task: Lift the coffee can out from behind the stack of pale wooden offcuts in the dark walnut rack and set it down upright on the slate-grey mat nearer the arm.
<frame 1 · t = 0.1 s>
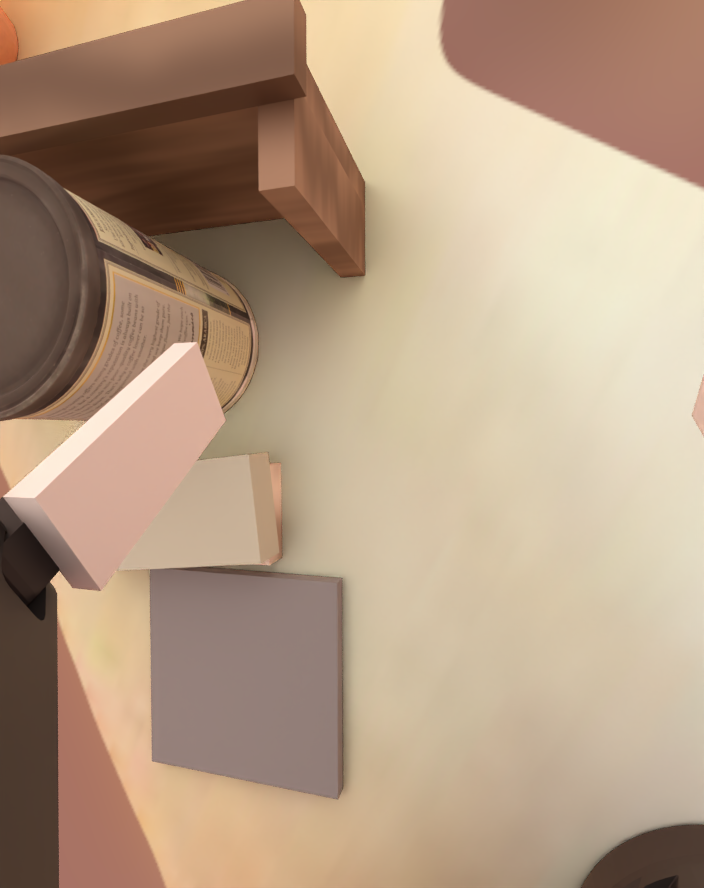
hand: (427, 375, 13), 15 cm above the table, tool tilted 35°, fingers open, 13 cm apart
slate mat: (246, 670, 32), on the table
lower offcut: (196, 505, 33), on the table, touching upper offcut
upper offcut: (179, 510, 31), point 2 cm above the table, touching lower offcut
coffee can: (191, 349, 33), on the table
walnut rack: (189, 386, 33), on the table
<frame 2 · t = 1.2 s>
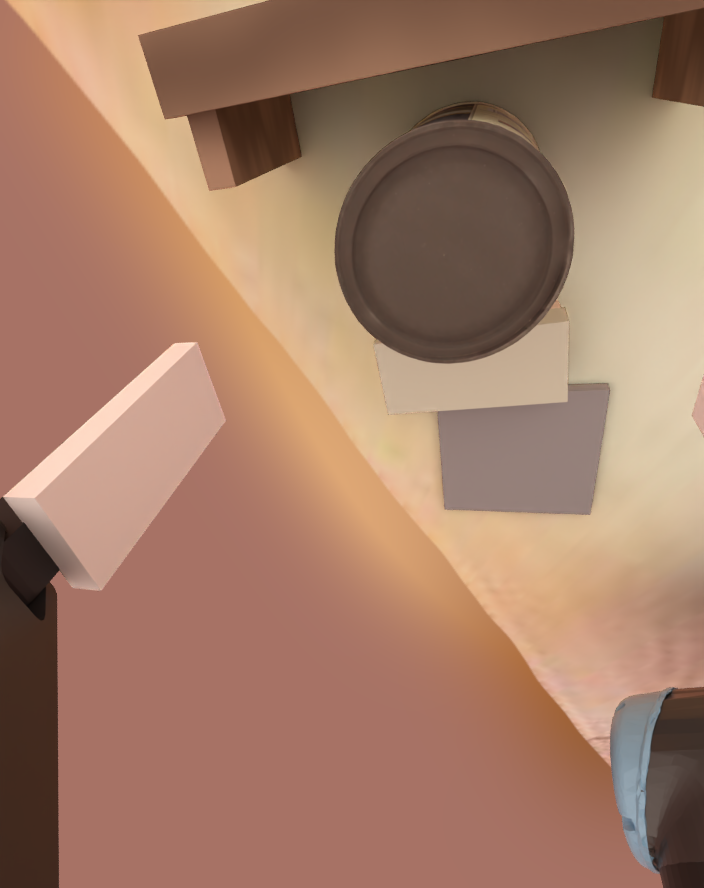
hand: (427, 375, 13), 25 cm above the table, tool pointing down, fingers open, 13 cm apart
slate mat: (516, 450, 43), on the table
upper offcut: (470, 357, 37), point 2 cm above the table, touching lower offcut
coffee can: (462, 195, 33), on the table
walnut rack: (463, 235, 34), on the table
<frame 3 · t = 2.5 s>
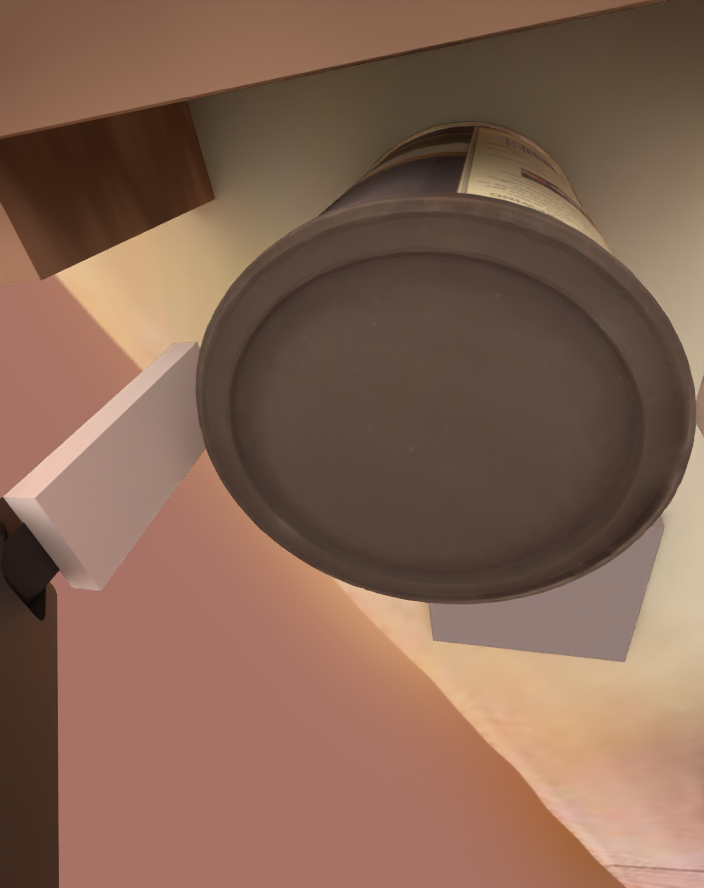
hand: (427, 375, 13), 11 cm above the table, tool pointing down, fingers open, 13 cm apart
slate mat: (527, 580, 32), on the table
coffee can: (455, 260, 22), on the table
walnut rack: (456, 316, 23), on the table
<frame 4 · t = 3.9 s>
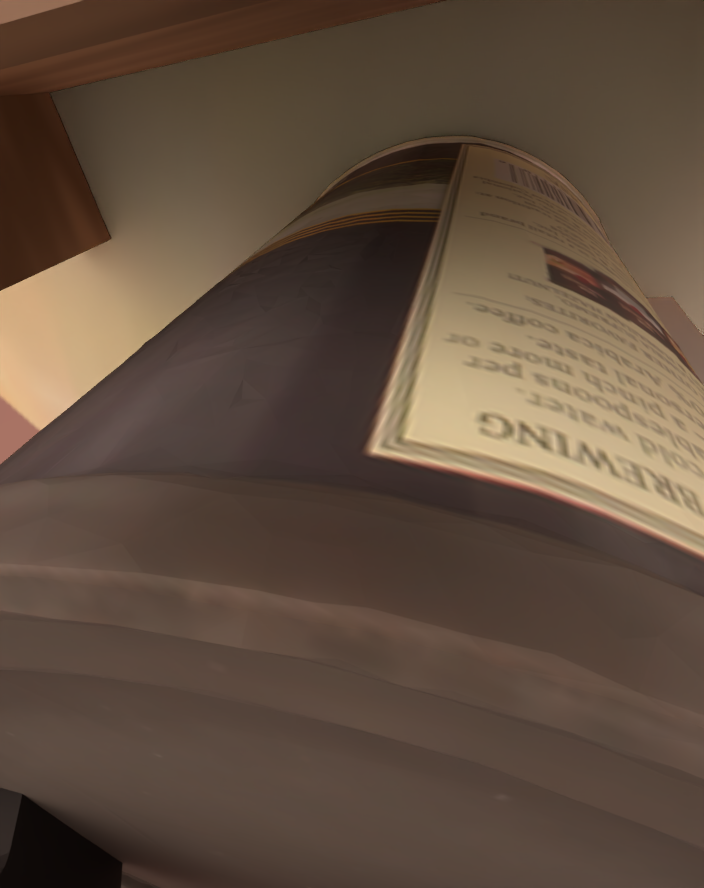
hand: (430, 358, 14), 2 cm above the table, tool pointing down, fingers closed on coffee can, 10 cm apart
coffee can: (438, 322, 16), on the table, touching gripper
walnut rack: (441, 394, 17), on the table
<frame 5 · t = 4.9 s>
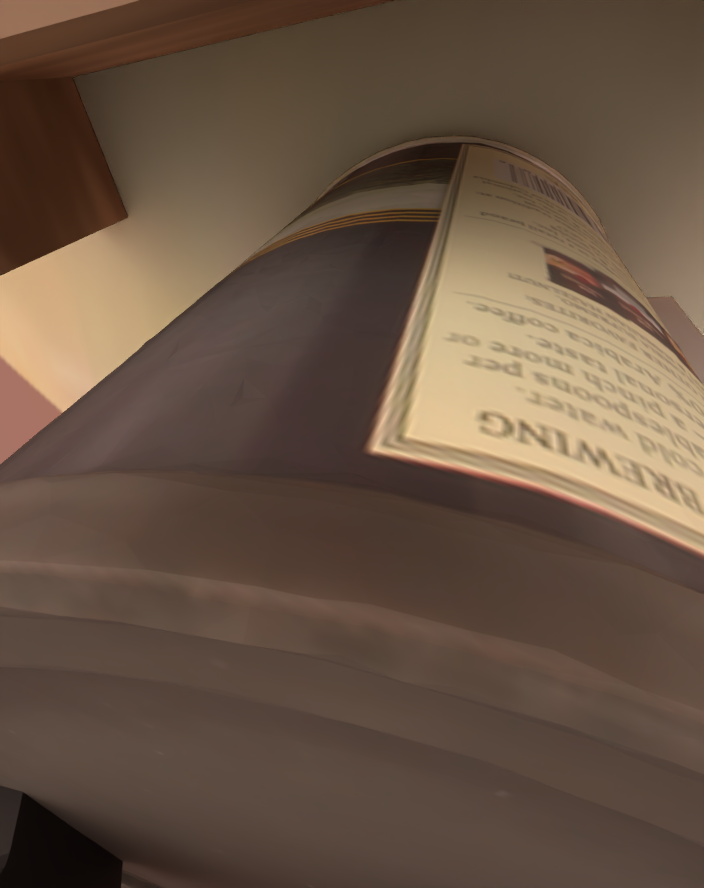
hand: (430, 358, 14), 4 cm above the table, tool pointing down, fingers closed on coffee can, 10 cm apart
coffee can: (438, 322, 16), point 1 cm above the table, touching gripper
walnut rack: (439, 363, 18), on the table
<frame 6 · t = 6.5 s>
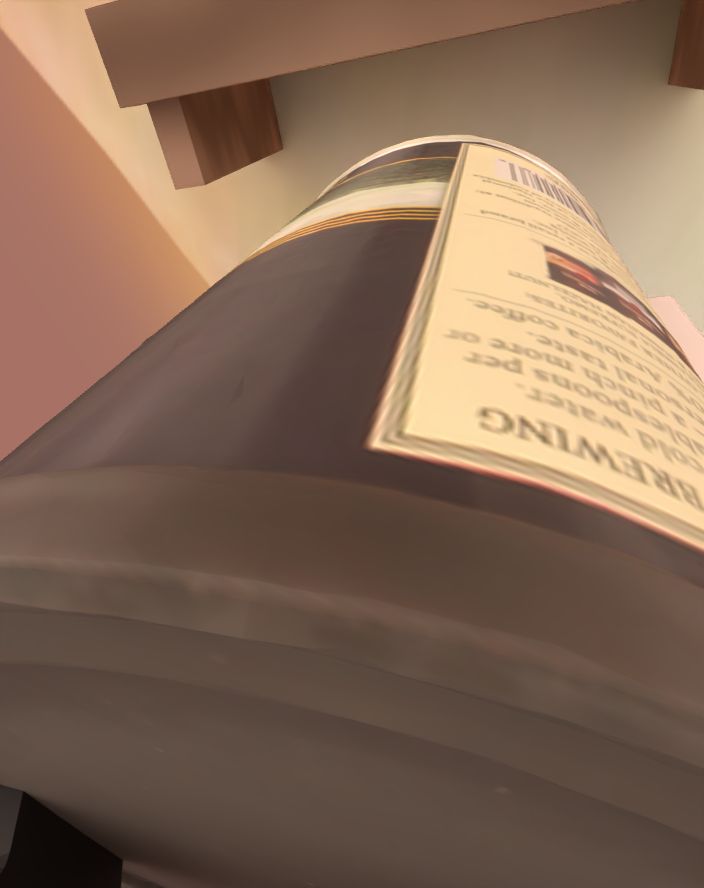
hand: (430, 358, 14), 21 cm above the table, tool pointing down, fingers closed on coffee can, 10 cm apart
coffee can: (438, 321, 16), point 18 cm above the table, touching gripper
walnut rack: (459, 236, 31), on the table
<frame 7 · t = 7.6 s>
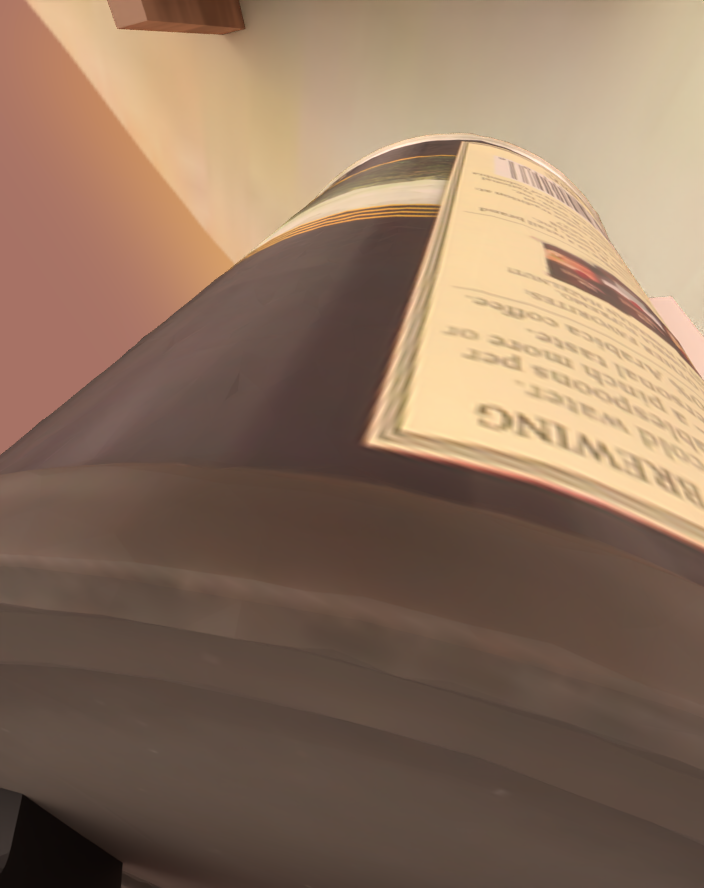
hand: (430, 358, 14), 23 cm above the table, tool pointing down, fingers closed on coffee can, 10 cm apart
coffee can: (437, 320, 16), point 21 cm above the table, touching gripper
walnut rack: (433, 121, 30), on the table
when the fingers open (5 cm above the table, at t = 11.4 s): coffee can drops 1 cm, resting on slate mat.
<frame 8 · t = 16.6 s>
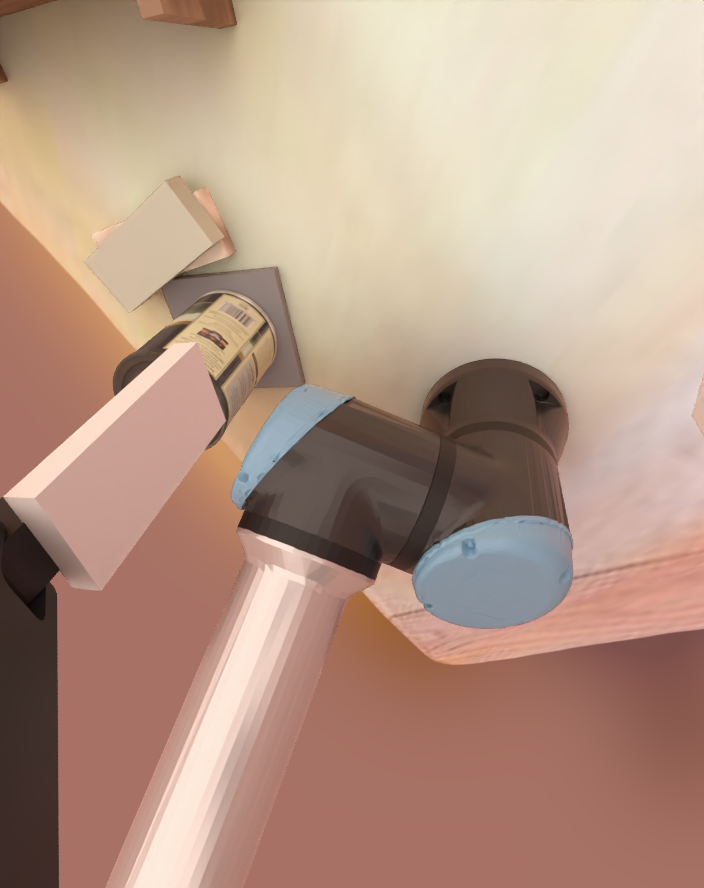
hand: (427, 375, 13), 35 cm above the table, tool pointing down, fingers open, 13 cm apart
slate mat: (236, 332, 54), on the table
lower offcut: (171, 238, 50), on the table, touching upper offcut
upper offcut: (159, 245, 48), point 2 cm above the table, touching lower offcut
coffee can: (234, 335, 53), point 1 cm above the table, touching slate mat
walnut rack: (137, 143, 44), on the table
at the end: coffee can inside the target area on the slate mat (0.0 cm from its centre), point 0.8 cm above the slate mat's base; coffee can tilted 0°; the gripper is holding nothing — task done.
